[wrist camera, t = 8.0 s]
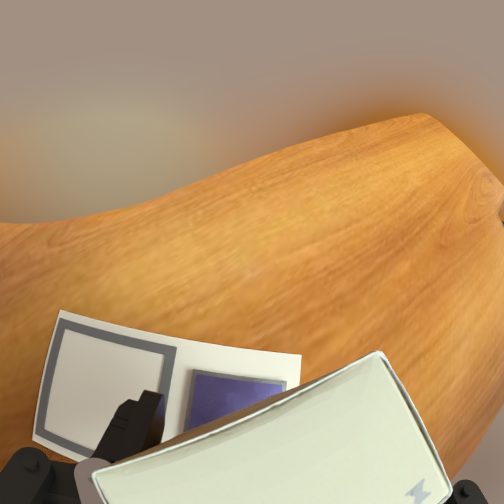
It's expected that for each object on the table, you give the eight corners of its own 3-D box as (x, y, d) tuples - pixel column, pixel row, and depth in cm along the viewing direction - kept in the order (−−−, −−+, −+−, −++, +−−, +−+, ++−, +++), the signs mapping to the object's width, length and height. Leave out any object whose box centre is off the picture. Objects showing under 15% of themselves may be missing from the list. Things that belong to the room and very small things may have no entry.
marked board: (34, 439, 20) (30, 439, 19) (61, 310, 28) (59, 308, 28) (285, 501, 21) (287, 502, 20) (300, 355, 29) (302, 354, 29)
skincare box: (277, 391, 16) (393, 331, 5) (310, 453, 14) (467, 483, 3) (173, 434, 14) (74, 466, 3) (207, 498, 12) (193, 629, 1)
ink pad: (179, 465, 22) (177, 468, 20) (193, 370, 27) (192, 367, 26) (274, 476, 22) (277, 479, 21) (284, 382, 27) (288, 380, 26)
